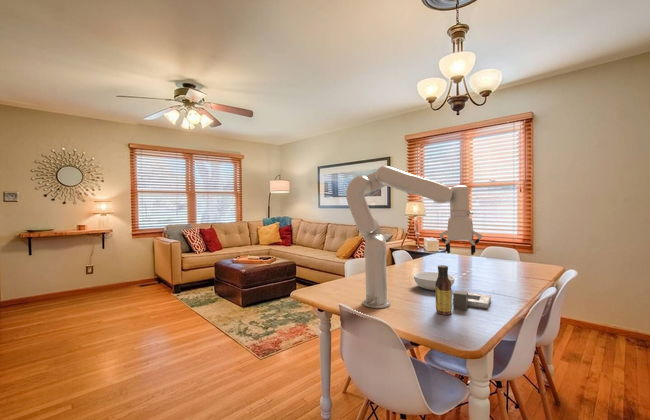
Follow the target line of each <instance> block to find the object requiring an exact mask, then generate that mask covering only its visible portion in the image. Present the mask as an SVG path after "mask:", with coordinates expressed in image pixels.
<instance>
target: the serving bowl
mask: <svg viewBox="0 0 650 420" xmlns="http://www.w3.org/2000/svg"><path fill="white" fill-rule="evenodd" d="M437 278H438V272H435V271H434V272H433V271H425V272H424V271H423V272H417V273H414V275H413V280H414V282H415V284H416V285H417V286H419V287H420V288H423V289H425V290H428V291H435V284H436V281H437ZM448 278H449V280H450V282H451V287H452V286H453V285H454V283H455V279H456V278H455V277H454V276H453V275H451V274H448Z"/></svg>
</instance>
